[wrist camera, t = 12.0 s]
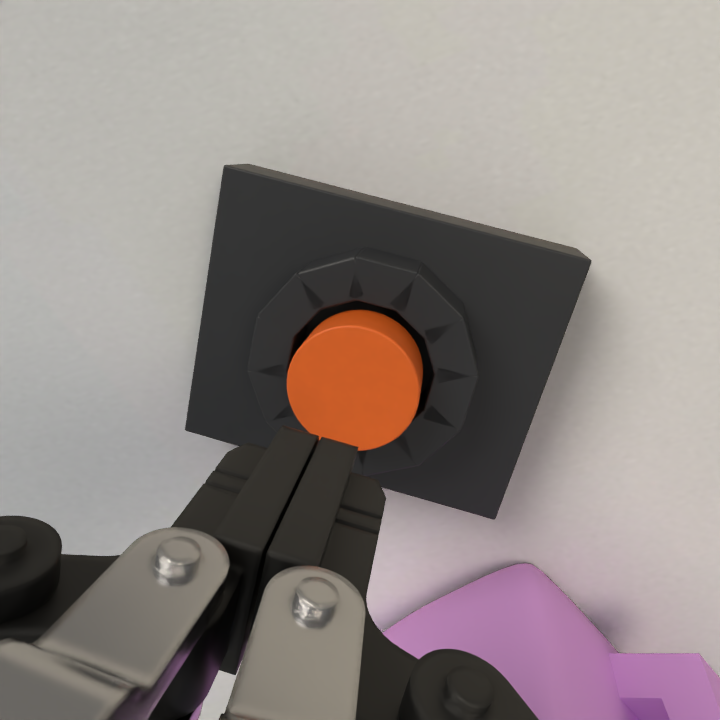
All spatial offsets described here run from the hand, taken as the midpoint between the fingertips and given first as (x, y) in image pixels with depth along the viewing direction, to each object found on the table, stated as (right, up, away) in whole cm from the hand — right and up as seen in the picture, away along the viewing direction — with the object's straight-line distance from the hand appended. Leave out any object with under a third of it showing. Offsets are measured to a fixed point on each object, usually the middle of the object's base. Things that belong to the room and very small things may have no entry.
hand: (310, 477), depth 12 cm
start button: (+1, +2, +6) cm, 7 cm away
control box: (+2, +3, +10) cm, 10 cm away
